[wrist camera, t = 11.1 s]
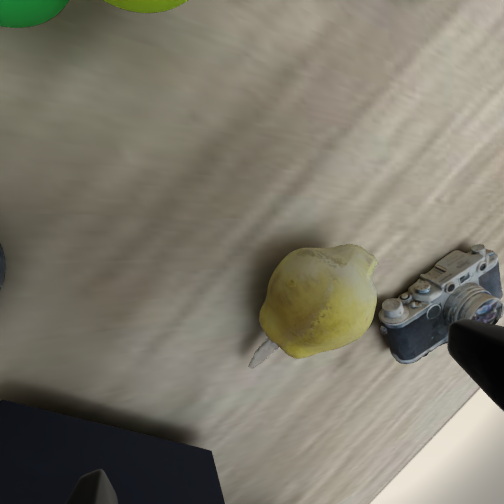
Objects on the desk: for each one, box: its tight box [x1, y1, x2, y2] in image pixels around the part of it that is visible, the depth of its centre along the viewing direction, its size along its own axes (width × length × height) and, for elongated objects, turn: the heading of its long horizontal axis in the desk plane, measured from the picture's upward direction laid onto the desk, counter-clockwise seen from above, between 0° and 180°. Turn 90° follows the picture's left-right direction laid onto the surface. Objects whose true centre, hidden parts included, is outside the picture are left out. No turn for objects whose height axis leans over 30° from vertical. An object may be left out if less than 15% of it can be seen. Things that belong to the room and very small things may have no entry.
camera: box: [378, 244, 504, 364], centre depth 24 cm, size 5×10×4 cm, turn 116°
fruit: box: [248, 244, 378, 368], centre depth 20 cm, size 6×6×10 cm
